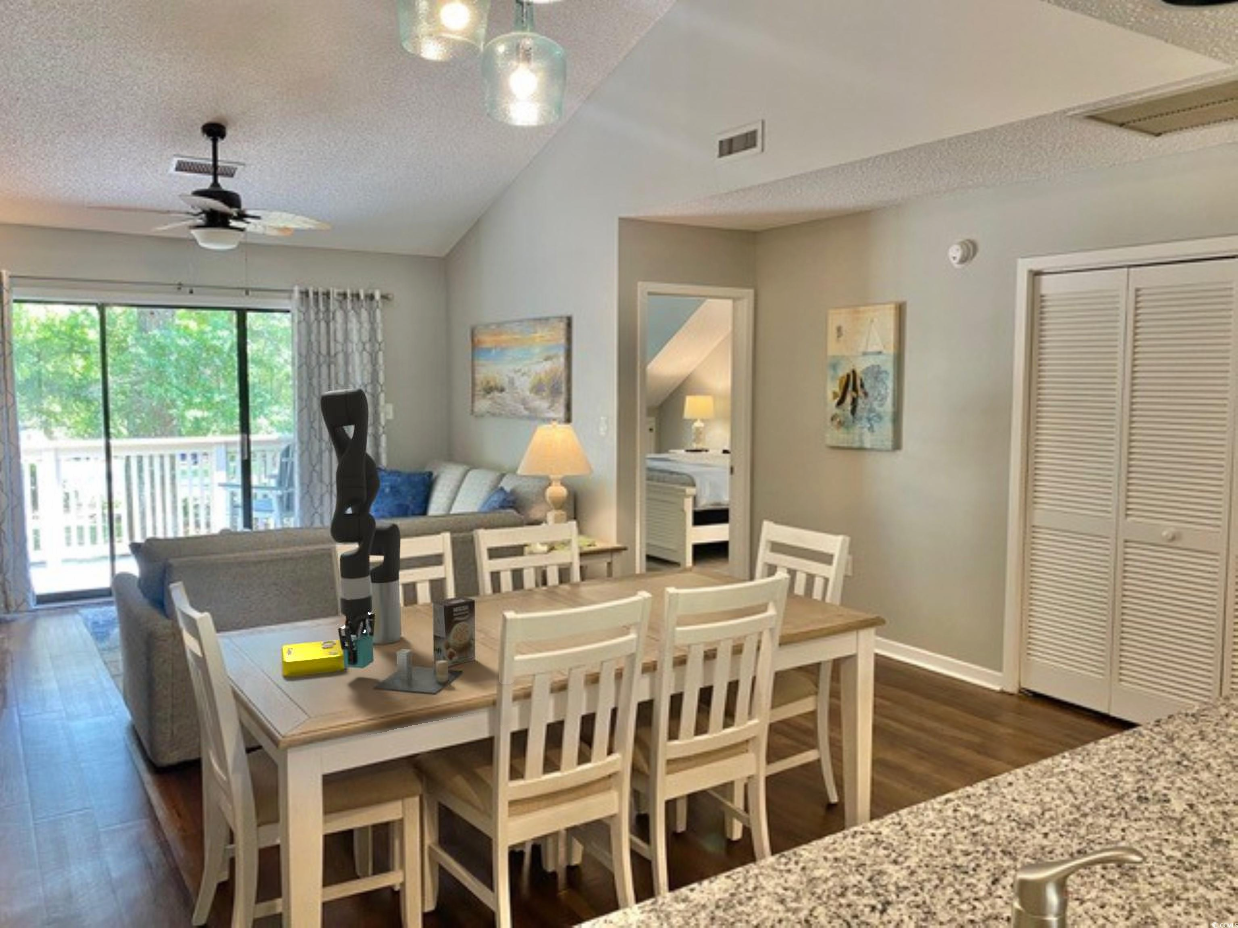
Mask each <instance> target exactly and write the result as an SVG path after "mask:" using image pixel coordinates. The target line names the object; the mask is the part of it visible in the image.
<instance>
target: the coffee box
mask: <svg viewBox="0 0 1238 928" xmlns="http://www.w3.org/2000/svg"><path fill="white" fill-rule="evenodd" d="M432 605H433V606H432V619H433V621H432V622H433V623H432V626H433V628H432V629H433V630H432V632H433V634H432V636H433V637H432V638H433V639H432V640H433V642H432V643H433V644H432V645H433V646H432V647H433V651H432V652H433V657H432V658H433V663H436V662H437V661H447V662H448V667H450V666H455V665H459V664H463V663H467V662H471V661H474V660H476V606H475V605H476V600H475V599H473V598H469V597H464V596H457V597H451V598H445V599H440V600H435V601H432Z"/></svg>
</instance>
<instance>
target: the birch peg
mask: <svg viewBox="0 0 1238 928" xmlns="http://www.w3.org/2000/svg"><path fill="white" fill-rule="evenodd" d="M435 668H436V682H439V683H444V682H447V681H448V670H449V666H448V662H447V661H437V662H435Z"/></svg>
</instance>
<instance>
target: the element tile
mask: <svg viewBox="0 0 1238 928" xmlns="http://www.w3.org/2000/svg"><path fill="white" fill-rule="evenodd" d="M280 651H281V652H280V653H281V671H282V676H284V677H288V678H289V677H297V676H298V677H300V676H308V675H315V674H324V673H325V672H326V673H332V672H333V671H335V672H339V671H340V670H341V671H343V669H344V670H345V669H346V667H344V659H343V650H342V649H341V644H340V639H331V640H329V639H328V640H323V641H322V640H321V641H311V642H304V643H302V642H301V643H292V644H284V645H283V646H282V647H281V649H280ZM326 673H325V674H326ZM333 673H334V672H333ZM307 674H308V675H307Z"/></svg>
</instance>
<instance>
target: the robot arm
mask: <svg viewBox="0 0 1238 928" xmlns="http://www.w3.org/2000/svg"><path fill="white" fill-rule="evenodd" d="M319 403H320V405H319V406H320V410H321V415H322V418H323V421H324V424H325V427H326V429H327V432H328V434H329V437H330V440H331V442H332V445H333V448H334V452H335V456H336V459H337V463H338V464H337V466H336V471H335V472H336V473H335V487H336V488H335V491H336V502H335V506H334V507H335V508H334V512H333V516H332V520H331V523H330V536H331V538H332V540H334V541H335V542H336V543H338V544H339V543H340V544H341V543H342V544H344V543H345V544H346V543H356V542H357V545H358V546H357V547H356V548H355V549H351V550H348V551H345V552H342V553H341V554H340V556H339V573H340V574H339V578H340V579H339V602H340V603H339V604H340V614H341V615H343V616H344V617H345V621H344V626H342V627H340V626H339V627H338V628H337V629H338V630H337V631H338V632H337V633H338V636H339V641H340V644H341V649H342V650H347V654H348V664H349V665H356V664H357V650H356V649H357V641H359V640H360V635H365V636H367V635H370V636H373V645H385V644H393V643H396V642H398V641H400V640H401V639H402V608H401V603H400V602H401V597H400V596H401V595H400V593H401V592H400V590H401V588H400V569H401V530H400V527H399V526H398V524H397V523H393V522H376V519H375V517H374V515H373V514H372V513H371V512H370V511H371V508H372V505H373V503H374V501H375V499H376V497H377V495H378V493H379V491H380V487H381V479H380V475H379V472H378V468H377V464H376V461H375V459H373V458H372V456H371V455H370V454H369V453H368V452H367V447H368V446H367V445H368V432H369V429H368V428H369V415H370V414H369V412H370V411H369V403H368V398H367V395H366V393H365V392H364V390H363V389H362V388H359V387H358V388H355V387H354V388H346V389H337V390H336V389H335V390H330V391H325V392H323V393H322V394H321V396H320V402H319ZM350 426H353V432H352V436H351V437H350V436H349V434H348V433H347V431H346V429H345V427H350ZM348 509H350V510H351V512H350V513H347V511H348ZM371 556H372V557H374V556H375V557H377V556H379V557H383V558H382V559H383V561H382V563H381V564H378V565H375V566H372V567H371V563H370V562H371V561H370V560H371V559H370V557H371ZM352 635H355V637H351V636H352ZM352 640H353V645H352ZM345 642H346V645H345Z"/></svg>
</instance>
